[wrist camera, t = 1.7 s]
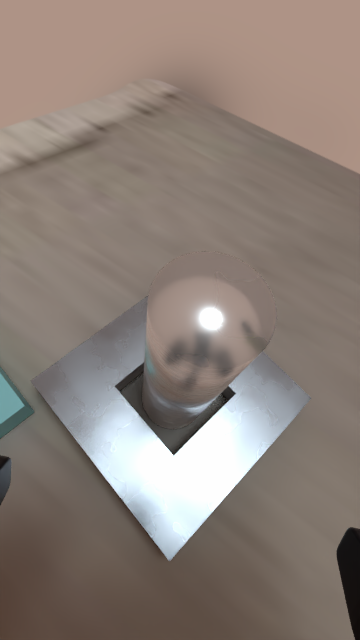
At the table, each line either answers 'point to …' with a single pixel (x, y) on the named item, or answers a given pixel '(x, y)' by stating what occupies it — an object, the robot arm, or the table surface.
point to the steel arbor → (201, 333)
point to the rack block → (11, 405)
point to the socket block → (142, 443)
